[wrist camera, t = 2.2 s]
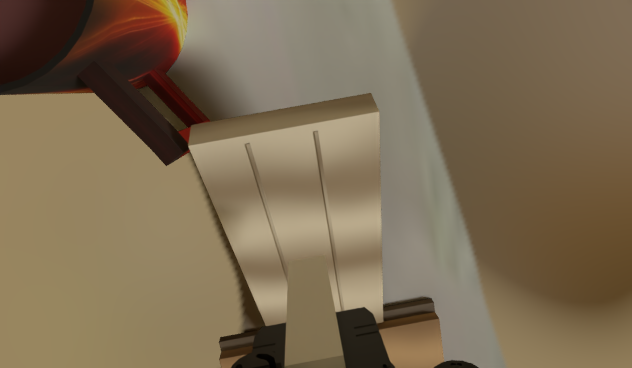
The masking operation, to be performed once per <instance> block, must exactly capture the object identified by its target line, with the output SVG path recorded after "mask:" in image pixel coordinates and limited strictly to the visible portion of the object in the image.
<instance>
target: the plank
mask: <svg viewBox="0 0 632 368" xmlns="http://www.w3.org/2000/svg"><path fill="white" fill-rule="evenodd" d="M188 147H189V149H190V152H191V154H192V156H193V159H194V161H195V163H196V166H197V168H198V170H199V172H200V175H201V177H202V179H203V182H204V184H205V186H206V189H207V191H208V193H209V196H210V198H211V200H212V203H213V205H214V207H215V209H216V212H217V214H218V216H219V219H220V221H221V223H222V226H223V228H224V230H225V233H226V235H227V237H228V239H229V242H230V244H231V246H232V249H233V251H234V253H235V256H236V258H237V260H238V263H239V265H240V267H241V270H242V272H243V274H244V276H245V279H246V281H247V283H248V286H249V288H250V290H251V293H252V295H253V297H254V300H255V302H256V304H257V306H258V309H259V311H260V313H261V316H262V318H263V320H264V323H265V325H266V326H270V325H275V324H281V323H286V316H287V290H288V265H289V261H294V260H299V259H304V258H310V257H315V256H321V255H325V258H326V263H327V269H328V274H329V280H330V285H331V290H332V296H333V301H334V307H335V312H340V311H345V310H350V309H356V308H361V307H365V308H366V309H368V310H369V311H370V312H372V313H373V315H374V317H375V320H376V323H382V322H383V283H382V232H381V181H380V130H379V110H378V108H377V106H376V103H375V101H374V99H373V97H372V94H371V93H368V94H362V95H357V96H351V97H345V98H340V99H334V100H329V101H323V102H318V103H312V104H306V105H301V106H295V107H290V108H284V109H279V110H273V111H267V112H262V113H256V114H251V115H245V116H239V117H234V118H228V119H223V120H217V121H212V122H206V123H200V124H195V125H191V130H190V137H189V143H188Z"/></svg>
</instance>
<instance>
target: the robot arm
mask: <svg viewBox="0 0 632 368" xmlns="http://www.w3.org/2000/svg"><path fill="white" fill-rule="evenodd" d="M231 368H395V366H394V365H393V364H392V363H391V362H390V360H389V357H388V354H387V351H386V348H385V345H384V343H383V340H382V337H381V334H380V332H379V329H378V326H377V323H376V320H375V317H374V315H373V313H372V312H370V311H369V310H368V309H366V308H365V307H361V308H356V309H350V310H345V311H340V312H335V307H334V301H333V296H332V290H331V285H330V280H329V274H328V269H327V263H326V258H325V255H321V256H315V257H310V258H304V259H299V260H294V261H289V265H288V290H287V316H286V323H281V324H275V325H270V326H265V327H261V329H260V330H259V331H258V333H257V334H256V335H255V337H254V342H253V349H252V353H249V354H247V355H245V356H243V357H241V358H240V359H238V360H237V361H236V362H235V363H234V364H233V365H232V367H231ZM434 368H478V367H477V366H475V365H473V364H471V363H468V362H464V361H454V360H451V361H446V362H442V363H440V364H438V365H437V366H435V367H434Z"/></svg>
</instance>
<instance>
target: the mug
mask: <svg viewBox="0 0 632 368" xmlns="http://www.w3.org/2000/svg"><path fill="white" fill-rule="evenodd" d="M187 18H188V14H187V6H186V0H0V95H10V94H11V95H16V94H60V93H61V94H62V93H95V94H96V95H97V96H98V97H99V98H100V99H101V100H102V101H103V102H104V103H105V104H106V105H107V106H108V107H109V108H110V109H111V110H112V111H113V112H114V113H115V114H116V115H117V116H118V117H119V118H120V119H122V121H123V122H124V123H125V124H126V125H127V126H128V127H129V128H130V129H131V130H132V131H133V132H134V133H135V134H136V135H137V136H138V137H139V138H140V139H142V141H143V142H144V143H145V144H146V145H147V146H148V147H150V149H151V150H152V151H153V152H154V153H155V154H156V155H157V156H158V157H159V159H160V160H161V161H162V162H163V163H164V164H165V165H166V166H167V165H169V164H171V163H172V162H174V161H175V160H177V159H179V158H180V157H182V156H184V155H185V154H187V153H189V152H190V149H189V147H188V143H189V137H190V130H191V125H195V124H200V123H206V122H211V121H210V120H209V119H208V118H207V117H206V116H205V115H204V114H203V113H202V112H201V111H200V110H199V109H198V108H197V107H196V106H195V104H194V103H193V102H192V101H191V100H190V99H189V98H188V97H187V96H186V95H185V94H184V93H183V92H182V91H181V90H180V89H179V88H178V87H177V85H176V84H175V83H174V82H173V81H172V80H171V79H170V78H169V77H168V76H167V75H166V74H165V73H166V72H167V71H168V70H169V69H170V67H171V66H172V65H173V63H174V62H175V61H176V59H177V58H178V55H179V53H180V51H181V49H182V47H183V44H184V40H185V36H186V32H187ZM147 85H148V86H149V87H150V89H151V90H152V91H153V92H154V93H155V94H156V95H157V96H158V97H159V98H160V99H161V100H162V101H163V102H164V103H165V104H166V105H167V106H168V107H169V108H170V109H171V110H172V111H173V112H174V113H175V114H176V115H177V116H178V118H179V119H180V120H181V121H182V122H183V123H184V124H185V125H186V126H187V127H188V128H186V129H184V130H181V131H177V130H176V129H175V128H174V127H173V126H172V125H171V124H170V123H169V122H168V121H167V120H166V119H165V118H164V117H163V116H162V115H161V114H160V113H159V112H158V111H157V110H156V109H155V108H154V106H153V105H152V104H151V103H150V102H149V101H148V100H147V99H146V98H145V97H144V96H143V95H142V94H141V93H140V92H139V91H138V90H137V89H139V88H143V87H145V86H147Z"/></svg>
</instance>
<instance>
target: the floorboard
mask: <svg viewBox="0 0 632 368" xmlns="http://www.w3.org/2000/svg"><path fill="white" fill-rule="evenodd" d="M377 326H378V329H379V332H380V334H381V337H382V340H383V343H384V345H385V348H386V351H387V354H388V357H389V360H390V362H391V363H392V364H393V365H394V366H395V368H434V367H435V366H437V365H438V364H440V363H442V362H444V357H443V349H442V340H441V331H440V323H439V318H438V316H437V315H436V313H435V309H434V302H433V300H432V299H431V298H430V299H425V300H419V301H414V302H408V303H403V304H398V305H392V306H387V307H383V322H382V323H377ZM258 331H259V330H257V331H252V332H246V333H241V334H236V335H231V336H225V337H220V341H219V344H220V348H221V355H220V359H219V360H220V364H221V368H231V367H232V365H233V364H234V363H235V362H236V361H237V360H238V359H240V358H241V357H243V356H245V355H247V354H249V353H252V349H253V342H254V337H255V335H256V334H257V333H258Z"/></svg>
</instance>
